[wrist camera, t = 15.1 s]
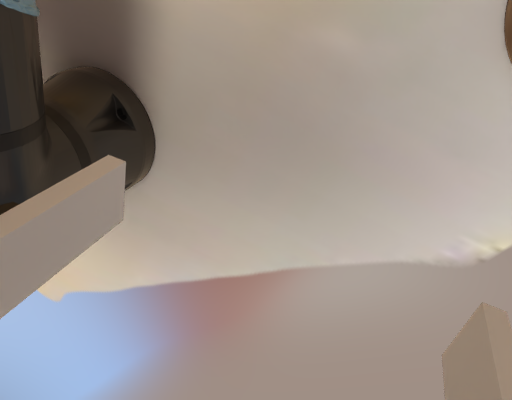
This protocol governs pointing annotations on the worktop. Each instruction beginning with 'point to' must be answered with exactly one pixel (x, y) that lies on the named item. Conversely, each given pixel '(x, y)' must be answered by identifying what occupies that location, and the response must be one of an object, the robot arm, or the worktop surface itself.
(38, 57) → the robot arm
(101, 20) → the worktop surface
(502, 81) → the worktop surface
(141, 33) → the worktop surface
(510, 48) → the post stand
